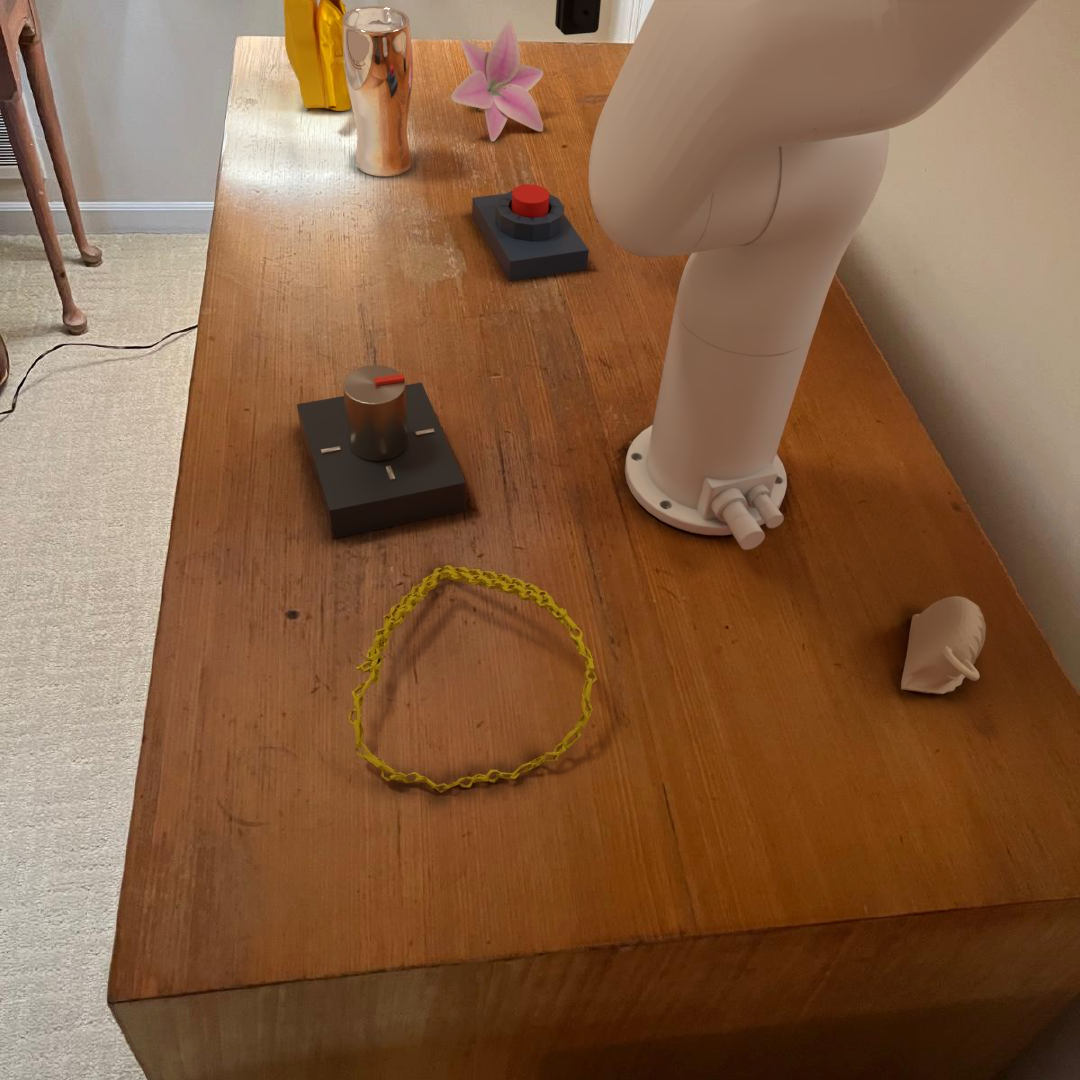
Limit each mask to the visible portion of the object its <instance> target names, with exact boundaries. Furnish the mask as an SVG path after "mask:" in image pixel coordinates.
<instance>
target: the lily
mask: <svg viewBox="0 0 1080 1080" xmlns="http://www.w3.org/2000/svg"><path fill="white" fill-rule="evenodd" d="M459 40H460V41H459V43H460V46H461V48H462V52H463V54H464V56H465V58H466V61H467V63H468V65H469V67H470V69H471V73H470V74H469V75H468V76H467V77H466V78H465V79H464V80H463V81H462V82H461V83H460V84H459V85H458V86H457V87H456V88H455V89H454V90H453V92H452V94H451V96H450V100H452V101H453V102H454V103H457V104H459V105H464V106H468V107H473V108H475V109H474V110H475V111H476V112H478V110H479V109H483V110H484V115H485V121H486V127H487V130H488V135H489V140H490V141H491V142H492V143H493V142H495V141H496V140H497V139H498V137H499V136H500V134H501V133H502V131H503V129H504V127H505V125H506V123H507V122H508V121H507V120H508V118H509V119H512V120H513V121H515V122H518V123H520V124H522V125H524V126H526V127H528V128H530V129H531V130H533V131H535V132H543V131H544V124H543V121H542V117H541V113H540V111H539V109H538V106H537V104H536V102H535V100H534V98H533V96H532V95H531V93H530V92H529V91H530V90H531V89H533V88H534V87H535V86H536V84H538V83H539V82H540V80H541V79H542V78H543V76H544V71H543V70H542V69H541V68H538V67H535V66H531V65H528V64H521V51H520V46H519V40H518V36H517V32H516V28H515V26H514V24H513V22H512V21H511V20H507V21H506V22H505V24H504V25H503V26H502V28H501V30H500V31H499V33H498V35H497V37H495V40H494V41H493V43H492V45H491V47H490V50H489V51H486V50H485V49H483V48H482V47H480V46H479V45H477V44H475V43H473V42H470V41H468V40H465V39H459Z"/></svg>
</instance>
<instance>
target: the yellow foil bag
mask: <svg viewBox="0 0 1080 1080" xmlns="http://www.w3.org/2000/svg"><path fill="white" fill-rule="evenodd" d="M283 12H284V13H283V16H284V17H283V21H284V45H285V46H284V47H285V51H286V55H287V58H288V61H289V64H290V66H291V69H292V70H293V73H294V75H295V77H296V79H297V81H298V84H299V90H300V95H301V99H302V104H303V107H304V109H326V110H333V111H336V112H337V111H338V112H343V111H348V110H351V108H352V105H351V101H350V97H349V93H348V89H347V84H346V79H345V72H344V63H343V21H342V17H343V16H344V14H345V13H347V11H346V3H344V2H343V1H342V0H319V2H318V0H283Z"/></svg>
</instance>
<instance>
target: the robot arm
mask: <svg viewBox="0 0 1080 1080" xmlns="http://www.w3.org/2000/svg"><path fill="white" fill-rule="evenodd" d="M1037 1H1038V0H654V1H653V3H652V5H651V6H650V8H649V10H648V13H647V15H646V17H645V19H644V21H643V24H642V25H641V27H640V29H639V31H638V34H637V35H636V38H635V40H634V41H633V44H632V46H631V48H630V50H629V52H628V55H627V57H626V58H625V61H624V63H623V64H622V66H621V69H620V71H619V73H618V75H617V77H616V79H615V82H614V84H613V86H612V88H611V90H610V92H609V95H608V96H607V98H606V101H605V103H604V105H603V108H602V109H601V112H600V115H599V117H598V121H597V123H596V126H595V130H594V134H593V137H592V142H591V146H590V153H589V158H588V159H589V160H588V172H587V173H588V176H587V177H588V178H587V179H588V191H589V199H590V203H591V207H592V211H593V214H594V217H595V220H596V221H597V223H598V225H599V227H600V228H601V229H602V232H603V233H604V234H605V236H606V237H607V238H608V239H609V240H610V241H611V243H613V244H615V245H616V246H617V247H618V248H620V249H621V250H623V251H624V252H627V253H629V254H631V255H634V256H637V257H641V258H653V259H654V258H655V259H656V258H667V257H675V256H684V255H689V257H688V259H687V262H686V264H685V266H684V269H683V271H682V275H681V278H680V281H679V285H678V290H677V295H676V300H675V306H674V310H673V315H672V320H671V326H670V331H669V335H668V342H667V347H666V352H665V357H664V364H663V368H662V373H661V379H660V384H659V388H658V389H659V390H658V393H657V394H658V395H657V400H656V406H655V409H654V410H655V411H654V416H653V421H652V424H651V425H650V426H648V427H647V428H645V429H643V430H642V431H641V432H640V433H639V434H638V435H637V436H636V437H635V438H634V439H633V441H632V442H631V444H630V445H629V447H628V449H627V453H626V458H625V465H624V475H625V481H626V484H627V486H628V488H629V491H630V493H631V494H632V495H633V497H634V498H635V500H636V501H637V503H638V504H639V505H640V506H642V507H643V508H644V509H645V510H646V511H647V512H648V513H649V514H650V515H652V516H654V517H655V518H657V520H660V521H661V522H663V523H665V524H667V525H670V526H671V527H674V528H677V529H679V530H683V531H686V532H689V533H693V534H699V535H705V536H728V535H729V536H730V535H732V536H733V537H734V539H735V541H736V542H737V543H738V545H739V547H740V548H741V550H744V551H748V550H753V549H754V548H758V547H759V546H760V545H761V544H762V543H763V541H764V540H765V538H766V537H765V532H764V531H763V529H762V528H761V526H762V525H764V524H765V526H766V528H768V529H775V528H777V527H779V526H780V525H781V524H783V522H784V520H785V517H784V515H783V513H782V512H781V511H780V508H781V505H782V503H783V500H784V497H785V495H786V491H787V486H788V481H787V479H788V478H787V472H786V469H785V466H784V463H783V462H782V460H781V458H780V456H779V455H778V449H779V447H780V443H781V440H782V437H783V434H784V430H785V427H786V423H787V420H788V417H789V414H790V411H791V408H792V405H793V402H794V399H795V395H796V391H797V389H798V387H799V382H800V380H801V375H802V373H803V369H804V367H805V364H806V361H807V357H808V353H809V351H810V347H811V344H812V341H813V338H814V335H815V332H816V330H817V326H818V324H819V321H820V317H821V314H822V310H823V308H824V305H825V303H826V299H827V296H828V294H829V290H830V288H831V284H832V282H833V280H834V277H835V275H836V272H837V270H838V268H839V266H840V263H841V260H842V259H843V256H844V255H845V252H846V250H847V249H848V247H849V245H850V243H851V242H852V239H853V238H854V236H855V234H856V233H857V231H858V229H859V227H860V225H861V224H862V222H863V220H864V218H865V216H866V215H867V213H868V211H869V209H870V207H871V205H872V204H873V202H874V199H875V197H876V195H877V193H878V190H879V188H880V185H881V183H882V180H883V177H884V174H885V170H886V166H887V161H888V158H889V157H888V156H889V151H890V150H889V148H890V132H889V130H891V129H894V128H898V127H899V126H903V125H905V124H907V123H910V122H912V121H914V120H916V119H918V118H919V117H920V116H922V115H924V114H925V113H927V111H929V110H930V109H931V108H933V107H934V106H935V105H936V104H937V103H938V102H939V101H940V100H941V99H943V98H944V97H945V96H946V95H947V94H948V93H949V92H950V91H951V90H952V89H953V88H954V86H956V85H957V84H958V83H959V82H960V81H961V79H962V78H963V77H964V76H965V75H966V74H967V73H968V72H969V71H970V70H971V69H972V68H973V67H974V66H975V65H977V63H978V62H979V61H980V60H981V59H982V58H983V57H984V56H985V55H986V54H987V53H988V52H989V51H990V49H992V48H993V46H995V45H996V44H997V43H998V41H999V40H1000V39H1001V38H1003V36H1004V35H1005V34H1007V32H1008V31H1009V30H1010V29H1011V28H1012V27H1014V25H1015V24H1016V23H1017V22H1018V21H1019V20H1020V19H1021V18H1022V17H1023V16H1024V15H1025V14H1026V13H1027V12H1028V11H1029V10H1030V9H1031V7H1032V6H1033V5H1035V3H1037ZM555 2H556V3H555V18H554V19H555V20H554V25H555V27H556V28H557V29H558V30H559V31H560V32H561V33H562V34H563V35H564V36H571V35H583V34H595V33H597V32H598V30H599V26H600V17H601V15H600V14H601V5H602V0H556V1H555Z"/></svg>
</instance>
